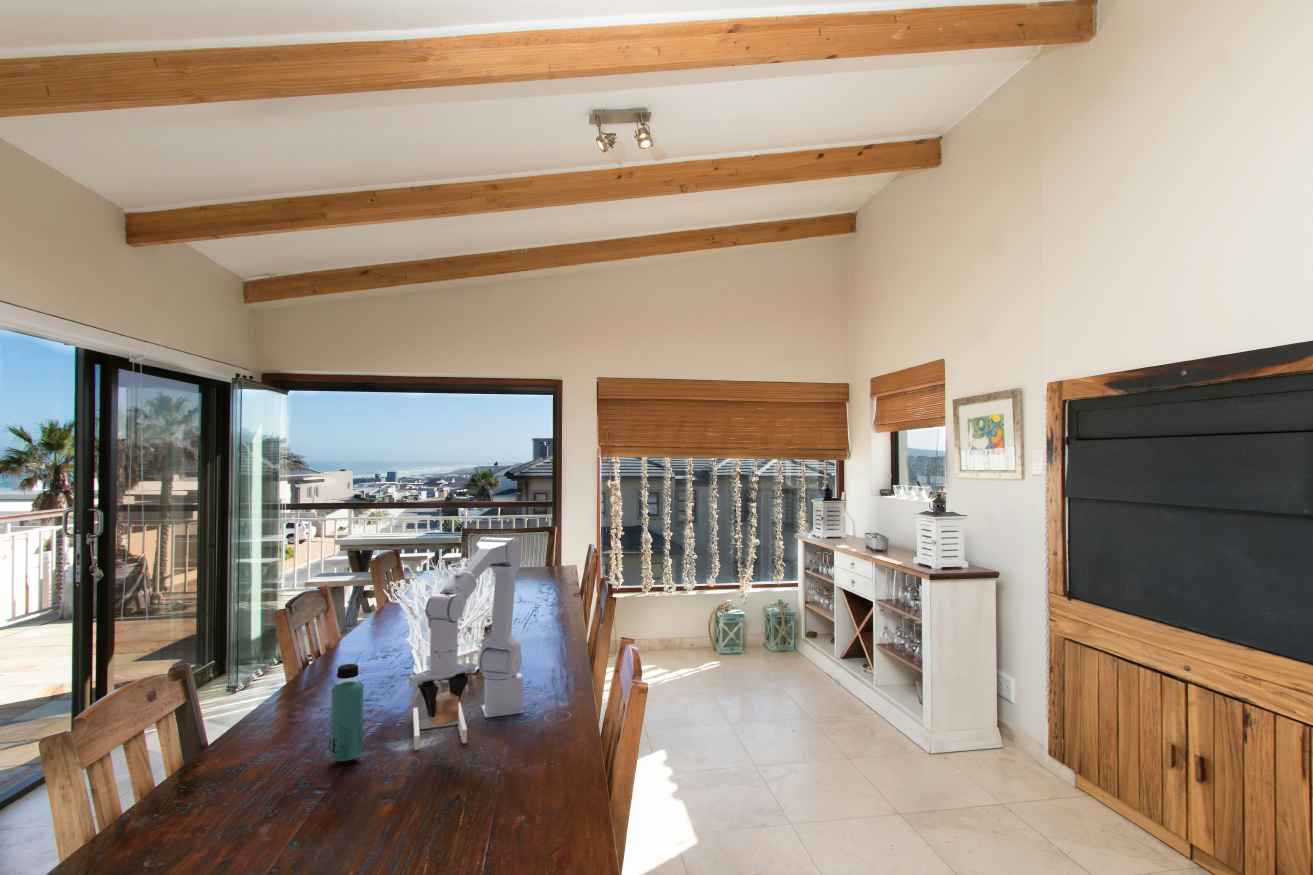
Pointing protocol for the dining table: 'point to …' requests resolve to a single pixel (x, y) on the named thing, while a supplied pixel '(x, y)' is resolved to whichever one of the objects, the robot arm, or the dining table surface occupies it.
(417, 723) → the channel
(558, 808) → the dining table surface
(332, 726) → the beverage bottle
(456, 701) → the block
